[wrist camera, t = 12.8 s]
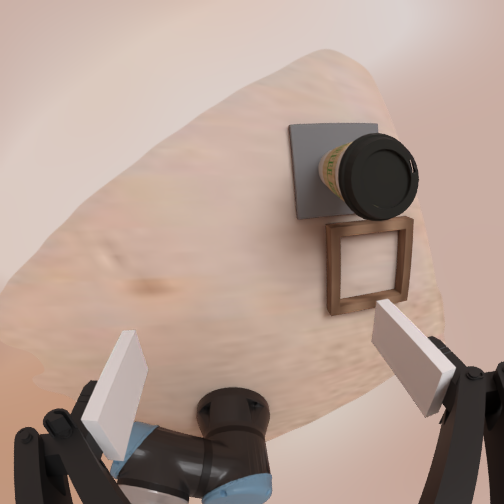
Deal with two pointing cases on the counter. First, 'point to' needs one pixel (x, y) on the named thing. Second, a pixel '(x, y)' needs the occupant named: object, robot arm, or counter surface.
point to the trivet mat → (307, 162)
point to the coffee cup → (371, 176)
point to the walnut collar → (334, 263)
